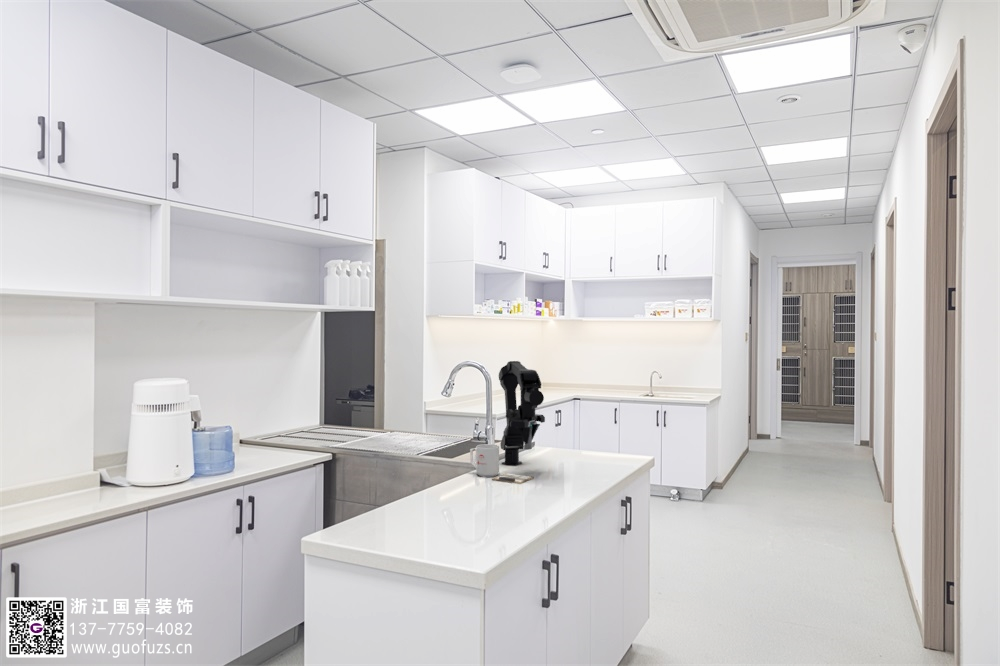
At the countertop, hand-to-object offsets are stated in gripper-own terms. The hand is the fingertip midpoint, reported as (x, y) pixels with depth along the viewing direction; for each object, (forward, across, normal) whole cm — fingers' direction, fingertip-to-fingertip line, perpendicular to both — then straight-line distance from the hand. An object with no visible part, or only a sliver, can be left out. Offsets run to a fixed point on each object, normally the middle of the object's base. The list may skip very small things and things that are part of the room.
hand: (527, 443), depth 259 cm
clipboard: (+12, +9, -2) cm, 16 cm away
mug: (+12, +8, -15) cm, 21 cm away
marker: (+2, 0, 0) cm, 2 cm away
